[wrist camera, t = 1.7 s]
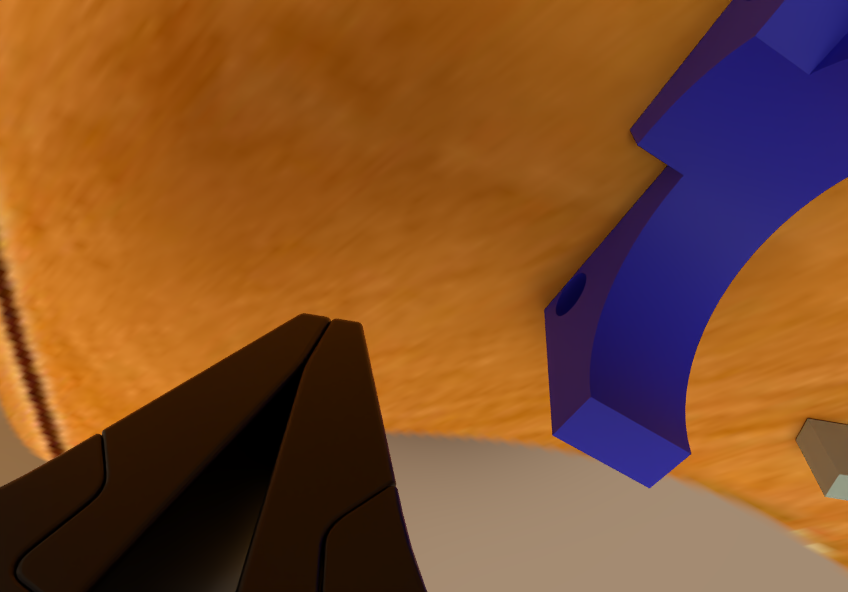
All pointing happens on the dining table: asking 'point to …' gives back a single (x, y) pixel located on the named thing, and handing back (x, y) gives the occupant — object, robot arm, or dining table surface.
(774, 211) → the blue half clamp bracket
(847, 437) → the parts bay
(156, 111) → the dining table surface
